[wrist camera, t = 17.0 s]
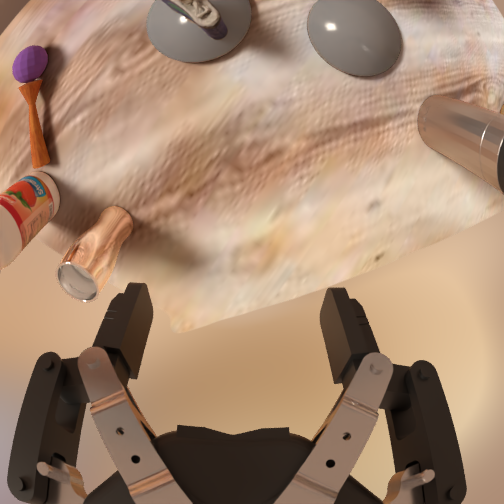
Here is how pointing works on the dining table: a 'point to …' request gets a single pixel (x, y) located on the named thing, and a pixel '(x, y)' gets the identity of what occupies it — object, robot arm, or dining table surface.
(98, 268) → the beer glass
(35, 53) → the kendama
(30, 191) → the fruit juice
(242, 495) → the robot arm
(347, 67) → the gray domed disc
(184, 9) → the flask
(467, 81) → the dining table surface
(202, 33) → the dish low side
